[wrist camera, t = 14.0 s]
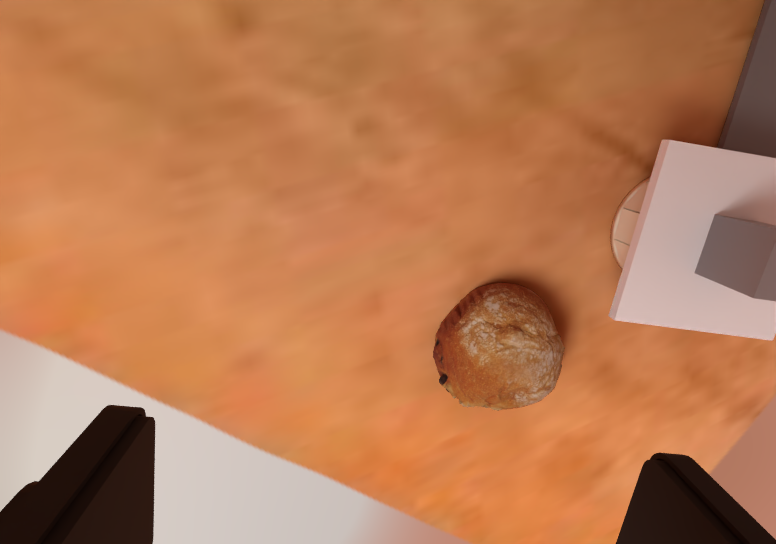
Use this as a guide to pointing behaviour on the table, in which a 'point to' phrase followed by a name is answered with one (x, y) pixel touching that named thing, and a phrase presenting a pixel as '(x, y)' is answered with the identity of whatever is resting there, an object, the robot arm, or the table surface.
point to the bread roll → (499, 348)
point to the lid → (704, 244)
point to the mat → (755, 94)
